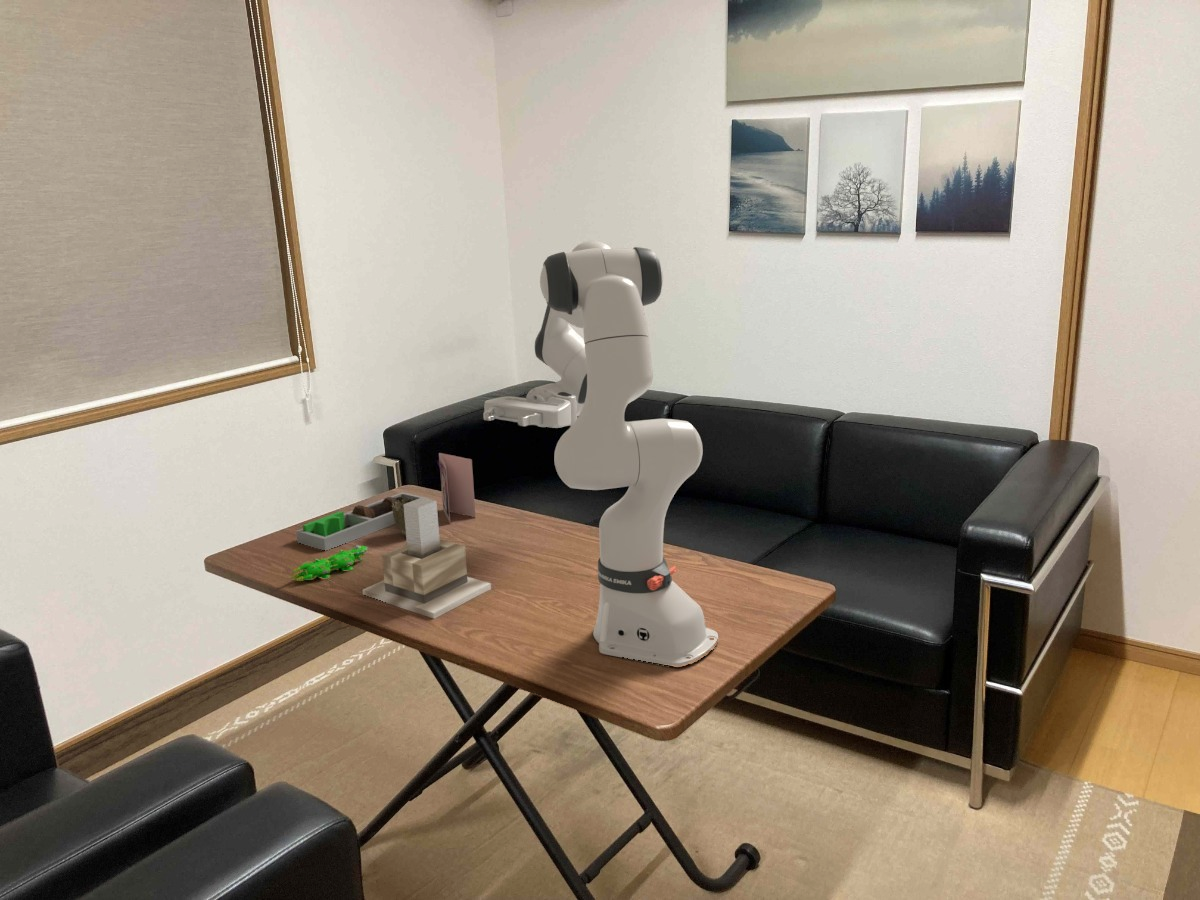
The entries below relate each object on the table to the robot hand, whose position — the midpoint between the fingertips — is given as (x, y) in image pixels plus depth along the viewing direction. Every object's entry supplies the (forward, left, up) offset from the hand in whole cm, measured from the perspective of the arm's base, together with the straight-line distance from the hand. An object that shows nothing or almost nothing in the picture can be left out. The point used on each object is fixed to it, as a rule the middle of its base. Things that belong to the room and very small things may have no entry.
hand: (502, 419), depth 192 cm
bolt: (+47, -6, -32) cm, 58 cm away
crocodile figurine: (+30, +23, -32) cm, 50 cm away
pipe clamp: (+48, +10, -32) cm, 59 cm away
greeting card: (+32, -17, -32) cm, 48 cm away
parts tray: (+46, 0, -32) cm, 56 cm away
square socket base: (+5, +20, -32) cm, 38 cm away
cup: (+32, -1, -32) cm, 45 cm away
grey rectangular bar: (+5, +20, -29) cm, 36 cm away
